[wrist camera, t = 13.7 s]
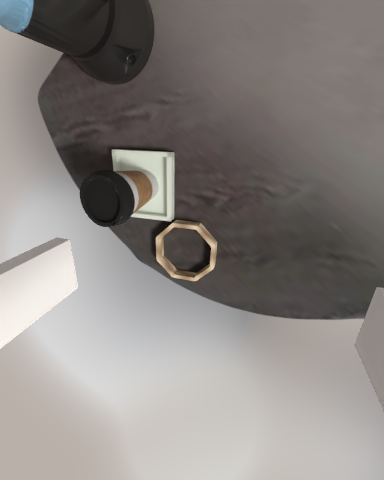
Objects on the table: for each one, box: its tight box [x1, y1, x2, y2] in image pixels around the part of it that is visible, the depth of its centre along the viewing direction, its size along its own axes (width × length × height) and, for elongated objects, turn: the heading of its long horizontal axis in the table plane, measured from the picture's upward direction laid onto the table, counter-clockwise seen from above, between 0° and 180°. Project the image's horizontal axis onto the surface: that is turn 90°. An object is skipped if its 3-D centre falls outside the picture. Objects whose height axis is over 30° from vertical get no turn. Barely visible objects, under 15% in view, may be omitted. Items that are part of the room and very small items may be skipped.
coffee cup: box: [80, 170, 159, 227], centre depth 42 cm, size 8×8×15 cm
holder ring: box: [156, 220, 217, 281], centre depth 51 cm, size 13×13×2 cm
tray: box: [112, 149, 174, 221], centre depth 48 cm, size 13×12×2 cm
